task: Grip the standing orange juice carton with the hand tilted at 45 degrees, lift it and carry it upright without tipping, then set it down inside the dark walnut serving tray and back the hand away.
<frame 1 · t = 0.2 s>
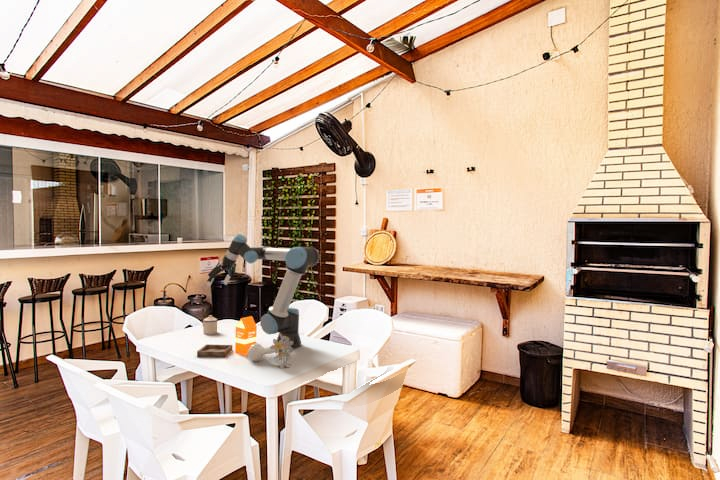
hand: (216, 284, 262), 35 cm above the table, tool tilted 35°, fingers open, 13 cm apart
flower vase: (270, 364, 218), on the table
teacup with lid: (208, 332, 280), on the table
walnut tray: (215, 353, 233), on the table
orange juice: (245, 352, 237), on the table
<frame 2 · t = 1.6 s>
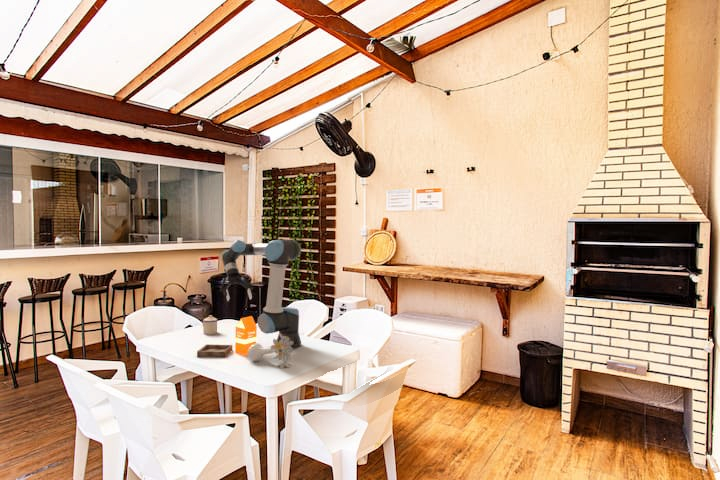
hand: (240, 299, 248), 28 cm above the table, tool tilted 45°, fingers open, 13 cm apart
nothing on the table moved.
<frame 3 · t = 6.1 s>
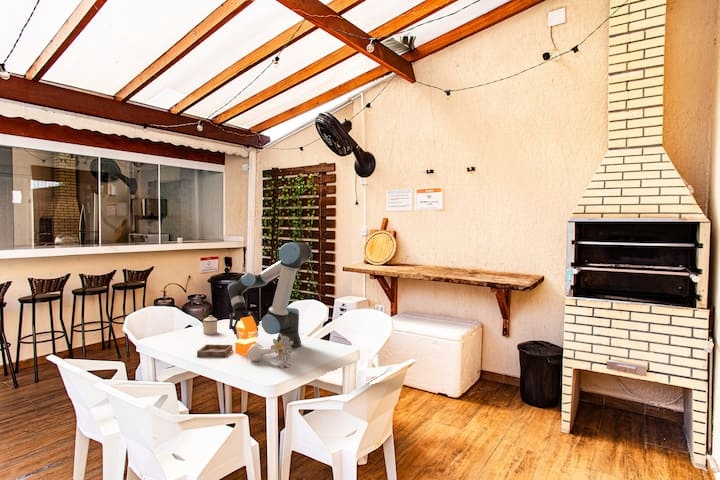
hand: (248, 337, 235), 9 cm above the table, tool tilted 45°, fingers closed on orange juice, 10 cm apart
orange juice: (245, 352, 237), on the table, touching gripper
everything else where it was.
when the fingers open (12 cm above the table, at t = 13.4 s): orange juice drops 2 cm, resting on walnut tray.
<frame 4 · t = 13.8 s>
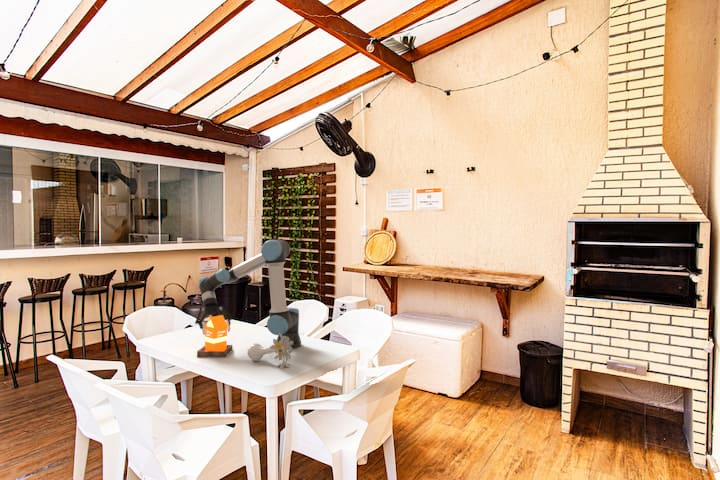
hand: (217, 331, 231), 13 cm above the table, tool tilted 45°, fingers open, 13 cm apart
orange juice: (215, 351, 233), point 1 cm above the table, touching walnut tray
everything else where it was.
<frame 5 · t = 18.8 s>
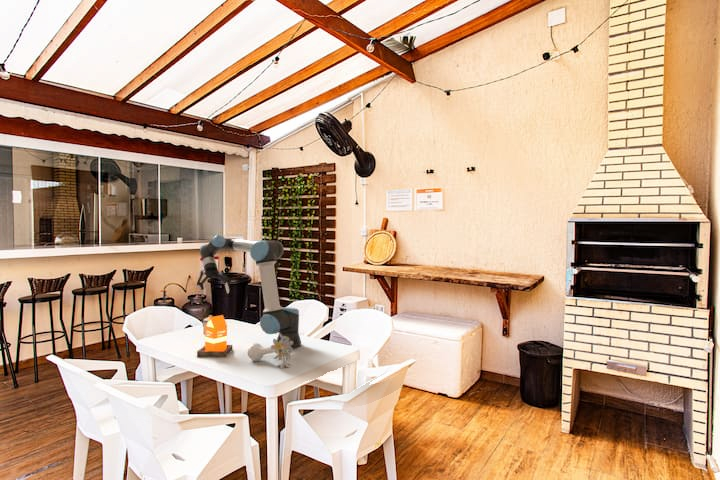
hand: (216, 293, 248), 32 cm above the table, tool tilted 45°, fingers open, 13 cm apart
nothing on the table moved.
at the end: orange juice inside the target area on the walnut tray (0.3 cm from its centre), point 0.8 cm above the walnut tray's base; orange juice tilted 0°; the gripper is holding nothing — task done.
